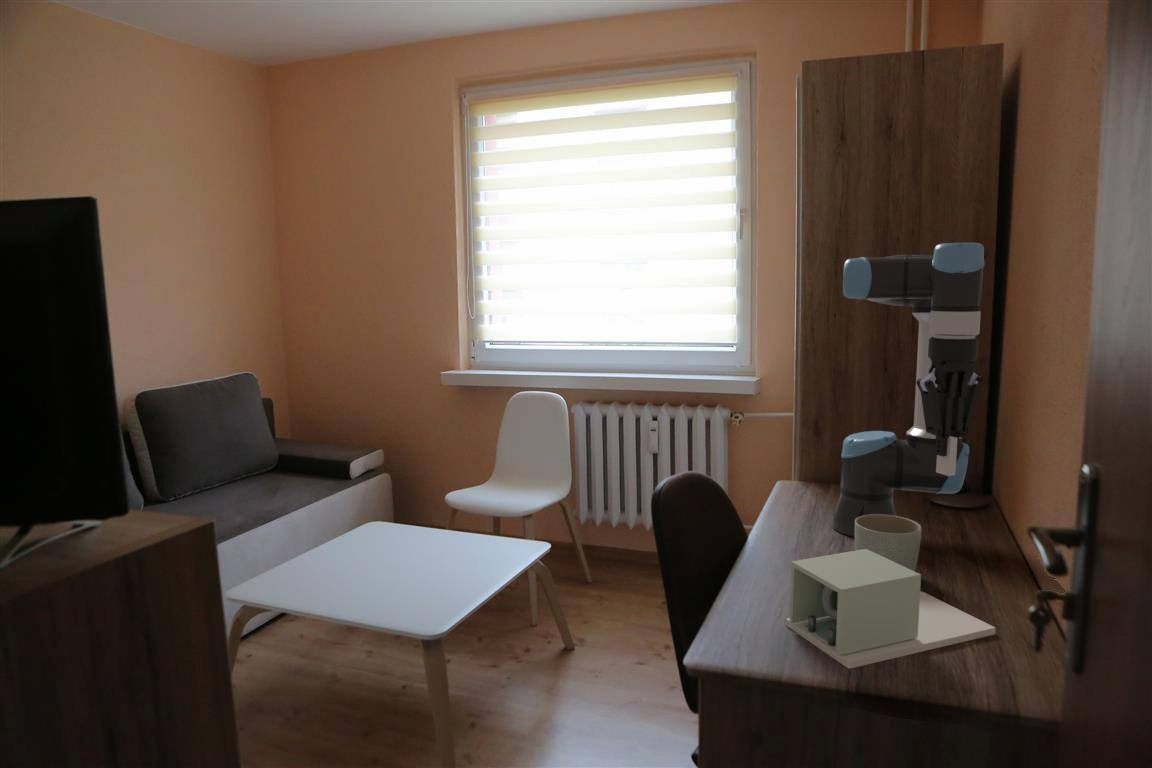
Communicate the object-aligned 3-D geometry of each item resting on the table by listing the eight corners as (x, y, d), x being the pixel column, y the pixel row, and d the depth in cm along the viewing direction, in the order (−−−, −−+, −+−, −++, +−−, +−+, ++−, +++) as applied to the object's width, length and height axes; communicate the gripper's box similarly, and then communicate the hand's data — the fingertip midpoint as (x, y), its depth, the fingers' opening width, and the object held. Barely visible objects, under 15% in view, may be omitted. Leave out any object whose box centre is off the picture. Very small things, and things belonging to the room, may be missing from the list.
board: (921, 597, 143) (921, 590, 143) (995, 634, 128) (995, 627, 128) (785, 625, 132) (785, 618, 132) (848, 668, 117) (849, 661, 117)
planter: (842, 565, 159) (844, 515, 158) (899, 562, 160) (902, 513, 159) (869, 589, 147) (871, 535, 145) (930, 586, 148) (934, 532, 146)
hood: (863, 606, 136) (866, 548, 134) (917, 637, 124) (921, 574, 123) (789, 621, 130) (791, 561, 129) (839, 655, 119) (841, 589, 117)
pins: (872, 616, 132) (872, 602, 132) (898, 631, 127) (899, 617, 126) (806, 630, 128) (807, 616, 127) (831, 646, 122) (831, 632, 122)
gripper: (964, 333, 133) (956, 465, 136) (906, 336, 128) (899, 472, 131) (1002, 336, 126) (992, 475, 129) (941, 339, 121) (933, 483, 124)
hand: (945, 473), depth 130 cm, fingers closed
